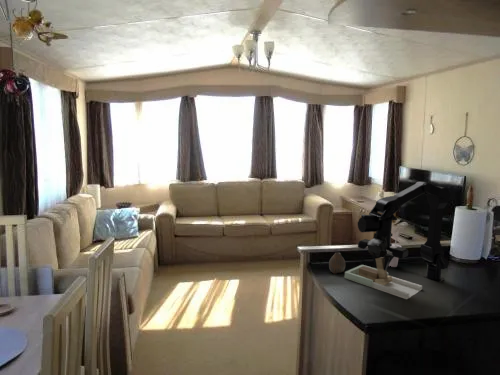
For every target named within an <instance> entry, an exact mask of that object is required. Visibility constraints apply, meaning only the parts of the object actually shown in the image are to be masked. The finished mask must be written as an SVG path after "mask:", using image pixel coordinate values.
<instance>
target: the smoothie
mask: <svg viewBox="0 0 500 375" xmlns="http://www.w3.org/2000/svg"><path fill="white" fill-rule="evenodd" d="M397 239H398V236H395V240H394V241H395V243H391V244H392V246H391V247H390V248H397V247H402V245H400V244H398V243H397V242H398V240H397ZM402 248H403V247H402ZM399 259H400V258H397V257H393V259H392V260H391V262H390V264H389V266H388V267H390V266H391V268H397V267H398V263H399Z"/></svg>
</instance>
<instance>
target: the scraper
mask: <svg viewBox="0 0 500 375" xmlns="http://www.w3.org/2000/svg"><path fill="white" fill-rule="evenodd" d="M384 263H385V256H383V257H382V256H379V257H378V258H376V265H377V268H376V269H377V271H378V276H379V278H378V279H376V280H375V283H378V284H381V285H386V284H387V283H389V282H391V281H392V277H393V275H389V276H387V272H388V271H387V269H386V270H384Z"/></svg>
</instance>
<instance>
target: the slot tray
mask: <svg viewBox="0 0 500 375" xmlns="http://www.w3.org/2000/svg"><path fill="white" fill-rule="evenodd" d="M363 266H365V267H369V268H372V269H375V270H377V268H376V267H371V266H368V265H366V264H365V265H364V264H360V265H358V266H356V267H353V268H351V269H348V270H346V271H344V279H346V280H349V281H353V282H354V283H355V282H356V283H358V284H361V285H362V286H363V285H364V286H367V287H369V288H372V289H375V290H378V291H381V292H385V293H387V294H390V295H393V296H396V297H398V298H402V299H404V300H408V299H410V298H412V297H413V296H415V295H416V294H417V293H419V292H420V291H422V290H423V285H421V284H418V283H414V282H412V281H409V280H405V279H401V278H398V277H395V276H392V281H391V282H389V283H387V284H386V285H381V284H378V283H375V282H373V280H371V279H368V278H365V277H362V276H359V268H361V267H363ZM387 276H390V275H389V272H388V271H387Z"/></svg>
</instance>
